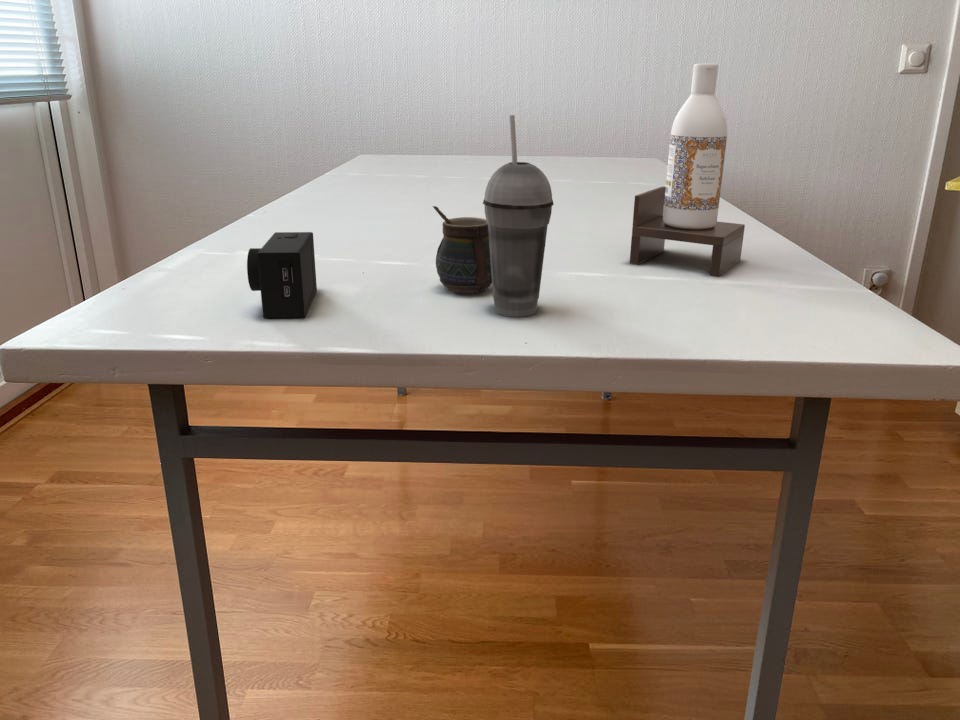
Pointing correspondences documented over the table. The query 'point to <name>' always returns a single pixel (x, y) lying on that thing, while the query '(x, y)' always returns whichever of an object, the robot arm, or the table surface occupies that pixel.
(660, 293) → the table surface
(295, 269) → the digital camera
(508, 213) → the beverage cup
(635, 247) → the chair
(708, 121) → the bath foam
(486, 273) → the mate gourd
